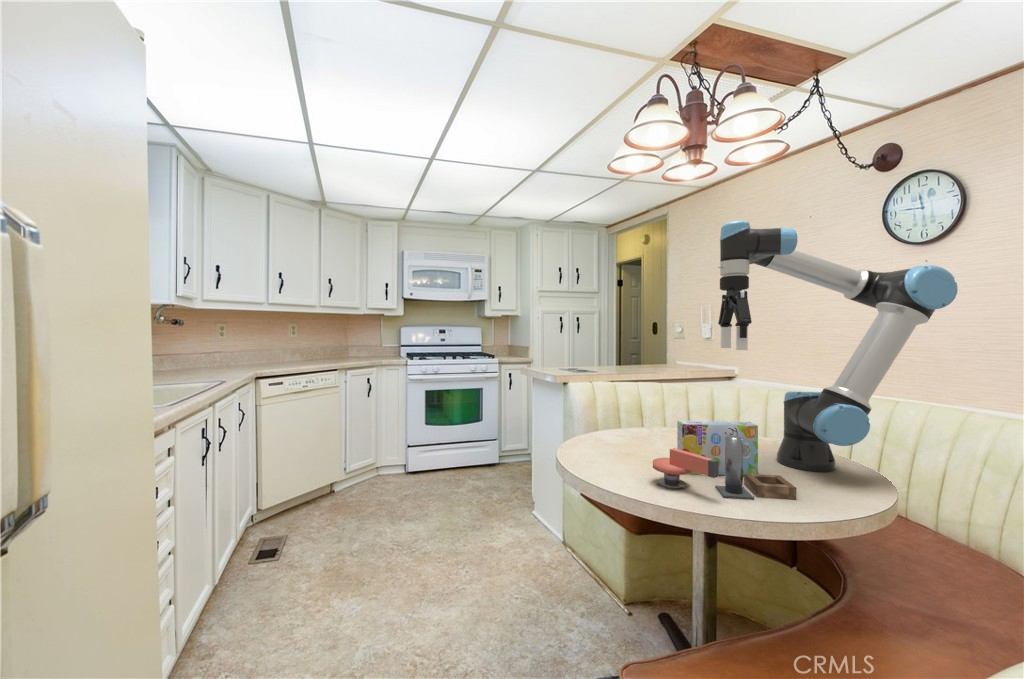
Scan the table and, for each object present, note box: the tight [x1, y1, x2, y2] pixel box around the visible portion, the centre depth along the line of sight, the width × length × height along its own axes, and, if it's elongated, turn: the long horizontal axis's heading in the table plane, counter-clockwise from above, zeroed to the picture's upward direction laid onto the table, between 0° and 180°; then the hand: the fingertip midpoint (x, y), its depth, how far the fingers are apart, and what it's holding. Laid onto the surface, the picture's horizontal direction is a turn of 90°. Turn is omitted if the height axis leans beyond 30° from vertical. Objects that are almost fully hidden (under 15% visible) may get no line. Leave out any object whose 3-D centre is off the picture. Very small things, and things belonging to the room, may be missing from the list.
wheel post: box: [657, 473, 686, 490], centre depth 115 cm, size 7×7×4 cm
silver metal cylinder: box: [724, 435, 744, 494], centre depth 109 cm, size 4×4×14 cm
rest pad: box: [714, 485, 755, 501], centre depth 109 cm, size 7×7×1 cm
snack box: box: [676, 420, 759, 477], centre depth 125 cm, size 21×6×15 cm, turn 84°
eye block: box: [743, 473, 797, 501], centre depth 110 cm, size 9×9×3 cm
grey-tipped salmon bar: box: [652, 447, 720, 479], centre depth 112 cm, size 18×10×6 cm, turn 31°
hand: (733, 349), depth 123 cm, fingers open, 13 cm apart
